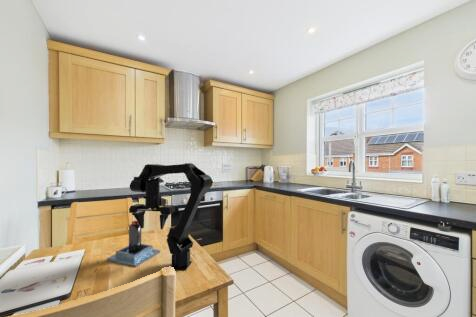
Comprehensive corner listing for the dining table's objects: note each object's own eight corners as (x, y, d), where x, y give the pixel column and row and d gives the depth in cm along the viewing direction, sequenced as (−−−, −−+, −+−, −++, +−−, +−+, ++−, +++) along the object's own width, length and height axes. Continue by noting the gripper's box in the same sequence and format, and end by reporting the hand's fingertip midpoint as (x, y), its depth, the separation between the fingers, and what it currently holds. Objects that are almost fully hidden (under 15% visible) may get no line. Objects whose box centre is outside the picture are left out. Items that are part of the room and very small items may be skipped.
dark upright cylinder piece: (146, 252, 94) (146, 220, 94) (134, 258, 88) (135, 224, 88) (135, 250, 96) (135, 218, 96) (123, 256, 90) (123, 222, 90)
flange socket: (160, 252, 96) (160, 244, 96) (136, 266, 83) (136, 258, 83) (133, 247, 101) (133, 240, 101) (106, 260, 88) (107, 252, 88)
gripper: (180, 190, 97) (180, 224, 96) (144, 189, 100) (143, 222, 99) (169, 194, 86) (168, 232, 85) (128, 193, 89) (128, 229, 88)
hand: (152, 228), depth 90 cm, fingers open, 9 cm apart
